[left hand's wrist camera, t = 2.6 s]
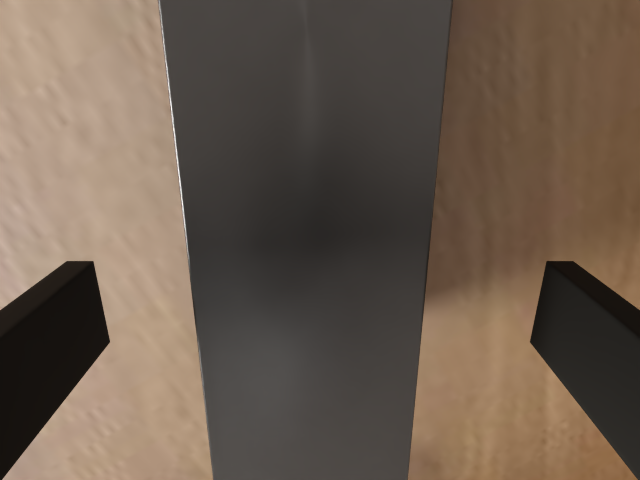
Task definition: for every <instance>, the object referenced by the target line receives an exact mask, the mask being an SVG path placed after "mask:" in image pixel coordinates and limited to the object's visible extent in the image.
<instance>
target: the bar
mask: <svg viewBox="0 0 640 480" xmlns="http://www.w3.org/2000/svg"><path fill="white" fill-rule="evenodd" d="M158 4H159V13H160V21H161V30H162V39H163V47H164V56H165V65H166V73H167V82H168V91H169V100H170V108H171V117H172V126H173V134H174V143H175V152H176V160H177V169H178V178H179V186H180V195H181V204H182V212H183V221H184V230H185V238H186V247H187V256H188V264H189V273H190V282H191V290H192V299H193V308H194V316H195V325H196V334H197V343H198V351H199V360H200V369H201V377H202V386H203V395H204V403H205V412H206V421H207V429H208V438H209V447H210V455H211V464H212V473H213V480H408V470H409V460H410V449H411V439H412V428H413V418H414V407H415V396H416V386H417V375H418V365H419V354H420V344H421V333H422V322H423V312H424V301H425V291H426V280H427V270H428V259H429V248H430V238H431V227H432V217H433V206H434V195H435V185H436V174H437V164H438V153H439V143H440V132H441V121H442V111H443V100H444V90H445V79H446V69H447V58H448V47H449V37H450V26H451V16H452V5H453V0H158Z"/></svg>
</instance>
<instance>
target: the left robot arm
mask: <svg viewBox="0 0 640 480" xmlns="http://www.w3.org/2000/svg"><path fill="white" fill-rule="evenodd" d="M109 343H110V340H109V335H108V330H107V325H106V320H105V315H104V311H103V306H102V301H101V296H100V291H99V286H98V282H97V277H96V272H95V267H94V262H93V261H67V262H65V263H64V264H62V265H61V266H60V267H58V268H57V269H56V270H54V271H53V272H52V273H50V274H49V275H48V276H46V277H45V278H43V279H42V280H41V281H39V282H38V283H37V284H35V285H34V286H33V287H31V288H30V289H29V290H27V291H26V292H24V293H23V294H22V295H20V296H19V297H18V298H16V299H15V300H14V301H12V302H11V303H10V304H8V305H7V306H5V307H4V308H3V309H1V310H0V480H2V479H3V478H4V476H5V475H6V474H7V473H8V471H9V470H10V469H11V468H12V466H13V465H14V464H15V462H16V461H17V460H18V459H19V457H20V456H21V455H22V453H23V452H24V451H25V450H26V448H27V447H28V446H29V445H30V443H31V442H32V441H33V439H34V438H35V437H36V436H37V434H38V433H39V432H40V431H41V429H42V428H43V427H44V425H45V424H46V423H47V422H48V420H49V419H50V418H51V417H52V415H53V414H54V413H55V411H56V410H57V409H58V408H59V406H60V405H61V404H62V403H63V401H64V400H65V399H66V397H67V396H68V395H69V394H70V392H71V391H72V390H73V389H74V387H75V386H76V385H77V383H78V382H79V381H80V380H81V378H82V377H83V376H84V375H85V373H86V372H87V371H88V369H89V368H90V367H91V366H92V364H93V363H94V362H95V361H96V359H97V358H98V357H99V355H100V354H101V353H102V352H103V350H104V349H105V348H106V346H107V345H108V344H109ZM530 343H531V344H532V345H533V346H534V348H535V349H536V350H537V352H538V353H539V354H540V355H541V357H542V358H543V359H544V361H545V362H546V363H547V364H548V366H549V367H550V368H551V369H552V371H553V372H554V373H555V375H556V376H557V377H558V378H559V380H560V381H561V382H562V383H563V385H564V386H565V387H566V389H567V390H568V391H569V392H570V394H571V395H572V396H573V397H574V399H575V400H576V401H577V403H578V404H579V405H580V406H581V408H582V409H583V410H584V411H585V413H586V414H587V415H588V417H589V418H590V419H591V420H592V422H593V423H594V424H595V425H596V427H597V428H598V429H599V431H600V432H601V433H602V434H603V436H604V437H605V438H606V439H607V441H608V442H609V443H610V445H611V446H612V447H613V448H614V450H615V451H616V452H617V453H618V455H619V456H620V457H621V459H622V460H623V461H624V462H625V464H626V465H627V466H628V468H629V469H630V470H631V471H632V473H633V474H634V475H635V476H636V478H637V479H638V480H640V310H639V309H637V308H636V307H635V306H633V305H632V304H630V303H629V302H628V301H626V300H625V299H624V298H622V297H621V296H620V295H618V294H617V293H616V292H614V291H613V290H611V289H610V288H609V287H607V286H606V285H605V284H603V283H602V282H601V281H599V280H598V279H597V278H595V277H594V276H592V275H591V274H590V273H588V272H587V271H586V270H584V269H583V268H582V267H580V266H579V265H578V264H576V263H575V262H573V261H547V262H546V267H545V272H544V277H543V282H542V286H541V291H540V296H539V301H538V306H537V311H536V315H535V320H534V325H533V330H532V335H531V340H530Z"/></svg>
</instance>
